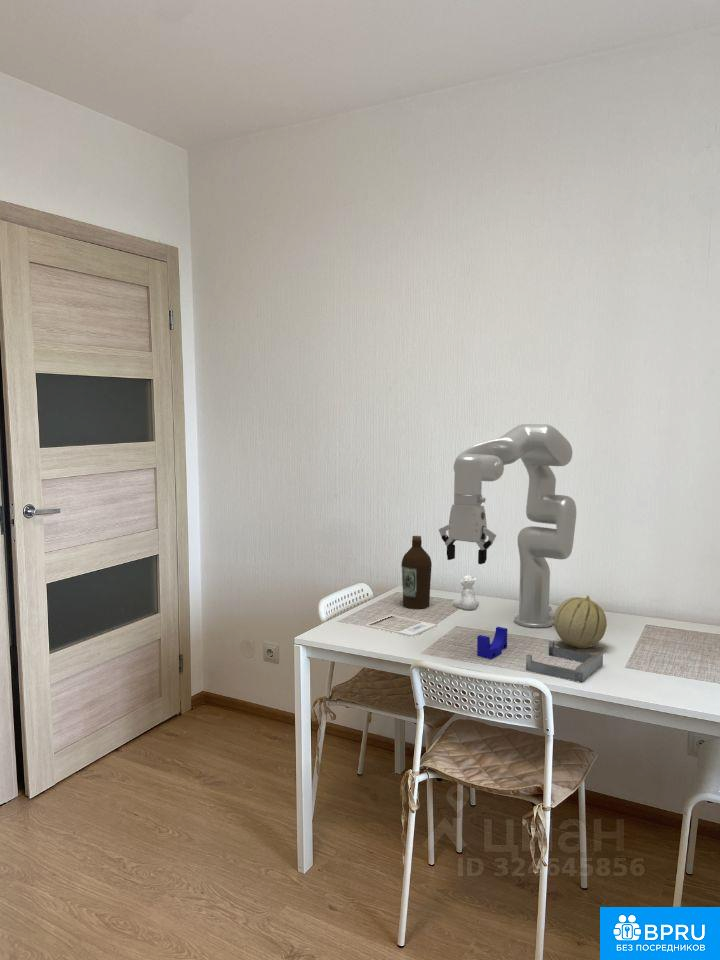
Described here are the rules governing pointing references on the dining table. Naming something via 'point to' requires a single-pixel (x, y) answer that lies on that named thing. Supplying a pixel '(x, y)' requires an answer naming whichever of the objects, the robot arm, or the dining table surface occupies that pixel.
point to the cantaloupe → (580, 622)
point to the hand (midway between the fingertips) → (466, 561)
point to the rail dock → (579, 674)
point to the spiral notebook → (411, 630)
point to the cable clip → (492, 644)
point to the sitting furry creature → (467, 594)
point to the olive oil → (416, 576)
